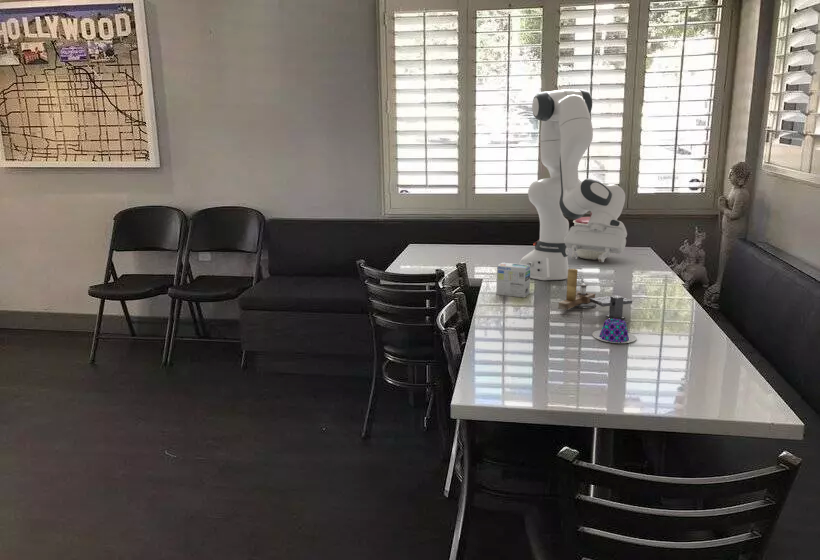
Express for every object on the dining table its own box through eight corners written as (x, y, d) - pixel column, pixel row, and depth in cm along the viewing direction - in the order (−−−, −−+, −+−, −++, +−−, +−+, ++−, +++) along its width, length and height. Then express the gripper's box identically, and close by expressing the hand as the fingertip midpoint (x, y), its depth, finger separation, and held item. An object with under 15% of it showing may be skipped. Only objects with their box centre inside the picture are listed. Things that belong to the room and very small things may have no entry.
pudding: (583, 335, 191) (584, 317, 189) (616, 330, 195) (617, 313, 194) (611, 347, 180) (612, 329, 179) (645, 342, 185) (647, 324, 183)
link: (578, 296, 226) (580, 262, 223) (594, 299, 222) (597, 265, 219) (553, 307, 212) (555, 271, 209) (570, 311, 208) (573, 274, 206)
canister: (579, 252, 312) (582, 207, 307) (617, 256, 302) (621, 211, 297) (564, 258, 298) (567, 212, 293) (603, 263, 288) (607, 215, 283)
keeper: (588, 314, 210) (590, 293, 208) (617, 311, 214) (618, 290, 212) (604, 322, 202) (606, 300, 201) (633, 318, 206) (635, 296, 204)
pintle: (564, 305, 221) (565, 284, 219) (574, 299, 228) (575, 279, 226) (590, 309, 216) (592, 288, 214) (599, 303, 223) (601, 283, 221)
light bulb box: (530, 293, 236) (531, 264, 233) (524, 298, 230) (526, 268, 227) (501, 290, 240) (502, 261, 238) (495, 294, 234) (496, 265, 232)
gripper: (569, 218, 228) (555, 250, 222) (627, 223, 215) (614, 257, 210) (574, 229, 232) (561, 261, 227) (632, 235, 219) (618, 268, 214)
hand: (586, 259), depth 218 cm, fingers open, 8 cm apart
